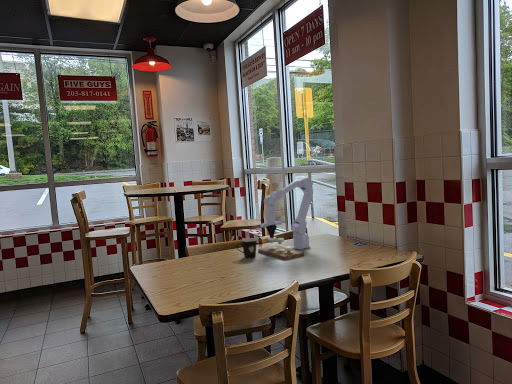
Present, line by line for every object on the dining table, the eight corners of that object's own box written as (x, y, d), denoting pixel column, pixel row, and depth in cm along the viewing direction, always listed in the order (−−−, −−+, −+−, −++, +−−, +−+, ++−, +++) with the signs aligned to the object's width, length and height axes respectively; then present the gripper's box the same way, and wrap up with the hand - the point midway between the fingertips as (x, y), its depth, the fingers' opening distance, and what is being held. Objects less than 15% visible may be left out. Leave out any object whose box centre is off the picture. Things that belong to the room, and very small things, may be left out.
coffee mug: (258, 254, 225) (257, 238, 224) (256, 258, 216) (255, 241, 215) (238, 255, 226) (237, 238, 225) (236, 259, 217) (235, 241, 216)
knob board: (276, 248, 239) (276, 245, 239) (304, 255, 217) (303, 251, 217) (258, 252, 231) (258, 248, 231) (284, 260, 209) (284, 256, 209)
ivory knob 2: (289, 250, 221) (289, 245, 221) (295, 252, 217) (294, 247, 216) (282, 252, 218) (282, 247, 218) (288, 253, 214) (287, 248, 214)
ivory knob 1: (272, 241, 234) (272, 236, 234) (277, 242, 230) (277, 237, 229) (266, 242, 231) (266, 237, 231) (271, 243, 227) (270, 238, 227)
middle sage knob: (280, 242, 227) (280, 237, 227) (286, 243, 223) (285, 238, 223) (274, 243, 224) (273, 238, 224) (279, 245, 220) (279, 240, 220)
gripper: (276, 213, 236) (277, 234, 237) (257, 216, 228) (258, 238, 229) (283, 214, 231) (284, 236, 232) (263, 217, 223) (264, 240, 224)
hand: (271, 237), depth 230 cm, fingers closed, pressing on ivory knob 1
